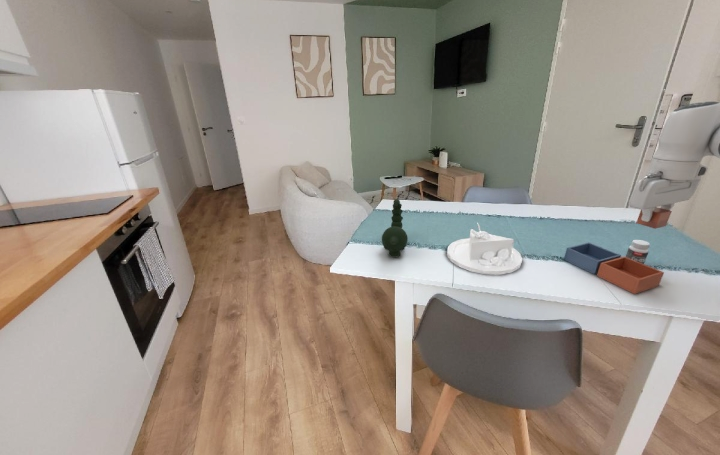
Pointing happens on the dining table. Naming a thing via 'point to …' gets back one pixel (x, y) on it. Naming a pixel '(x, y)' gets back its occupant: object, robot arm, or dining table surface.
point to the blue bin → (589, 256)
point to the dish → (485, 253)
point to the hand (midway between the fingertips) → (653, 219)
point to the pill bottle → (638, 251)
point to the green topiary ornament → (395, 232)
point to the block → (656, 218)
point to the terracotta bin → (630, 274)
